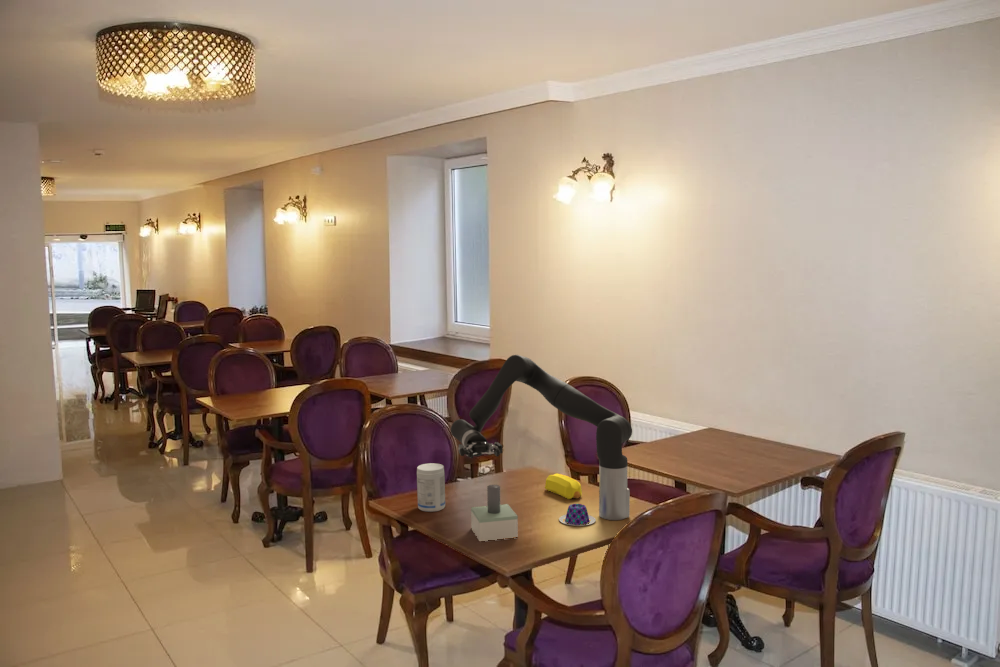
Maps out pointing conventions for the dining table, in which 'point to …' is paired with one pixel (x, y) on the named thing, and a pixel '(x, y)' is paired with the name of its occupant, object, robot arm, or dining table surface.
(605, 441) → the robot arm
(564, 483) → the yellow rounded loaf
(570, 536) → the dining table surface
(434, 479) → the supplement tub
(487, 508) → the lid
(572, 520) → the pudding
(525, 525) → the dining table surface
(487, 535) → the storage box
